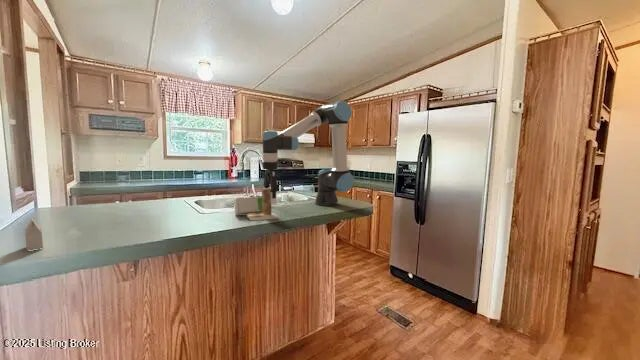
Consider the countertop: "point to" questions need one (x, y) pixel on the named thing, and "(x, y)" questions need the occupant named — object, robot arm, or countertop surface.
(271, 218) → the mat
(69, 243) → the countertop surface
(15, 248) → the countertop surface
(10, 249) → the countertop surface
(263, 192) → the wooden bracket
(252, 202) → the skincare box
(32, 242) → the tea bag
